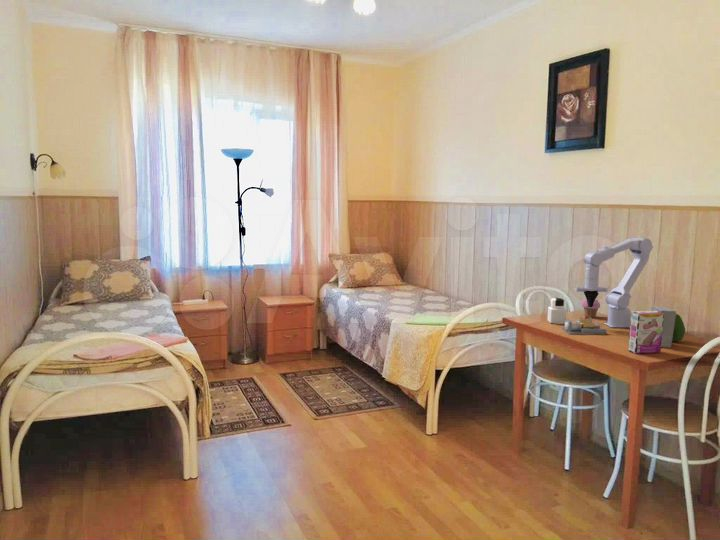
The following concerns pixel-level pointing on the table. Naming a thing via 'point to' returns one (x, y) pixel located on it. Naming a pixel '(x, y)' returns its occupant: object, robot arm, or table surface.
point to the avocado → (678, 329)
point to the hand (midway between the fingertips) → (590, 306)
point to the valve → (586, 322)
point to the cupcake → (591, 308)
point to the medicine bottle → (557, 311)
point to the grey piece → (576, 329)
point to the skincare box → (666, 324)
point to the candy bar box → (646, 332)
